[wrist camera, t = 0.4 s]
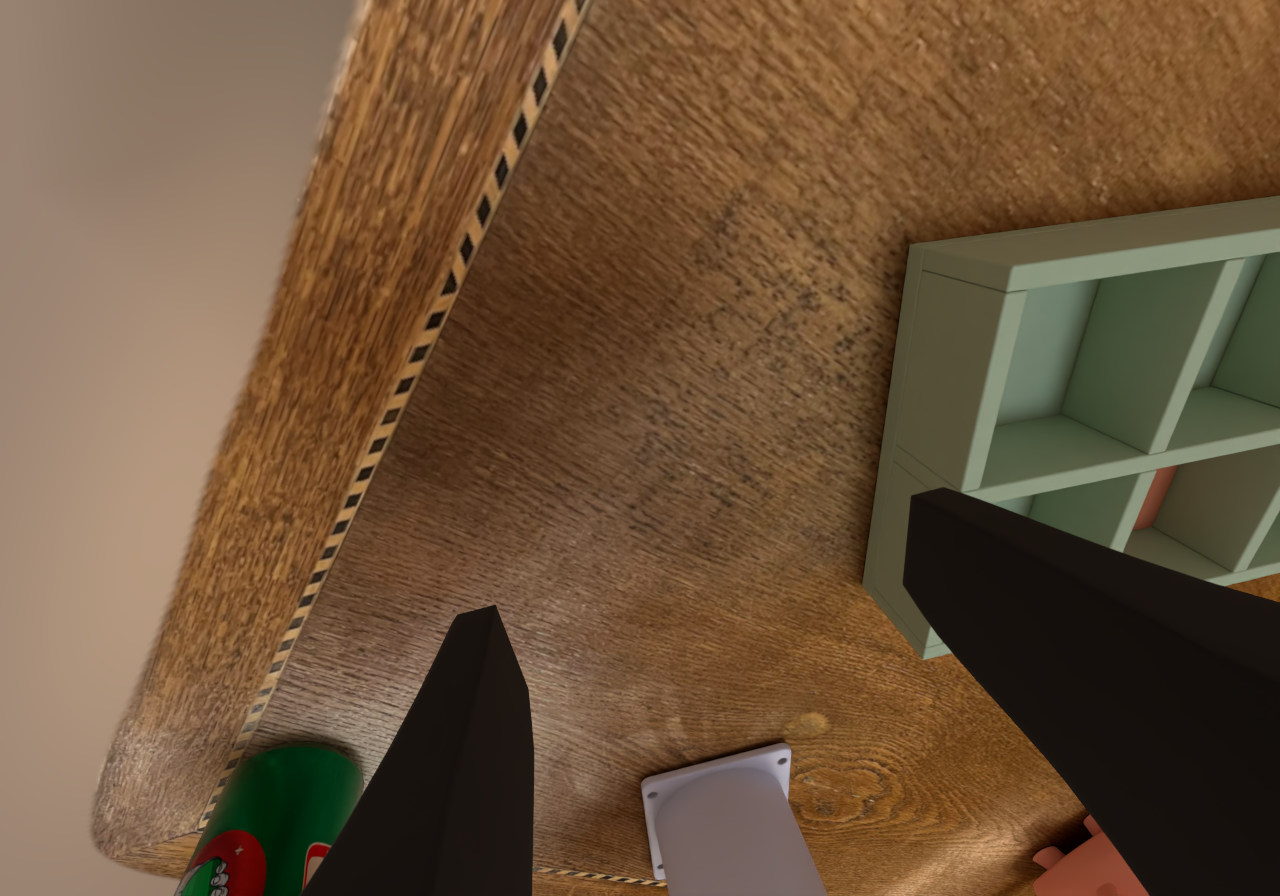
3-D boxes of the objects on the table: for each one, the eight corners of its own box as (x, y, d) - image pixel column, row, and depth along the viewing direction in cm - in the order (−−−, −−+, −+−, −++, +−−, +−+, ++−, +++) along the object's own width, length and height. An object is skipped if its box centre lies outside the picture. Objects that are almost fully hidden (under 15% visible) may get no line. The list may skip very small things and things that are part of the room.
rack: (1257, 498, 28) (1372, 550, 24) (861, 585, 25) (922, 661, 21) (1430, 175, 21) (1630, 178, 17) (908, 243, 18) (1012, 265, 14)
